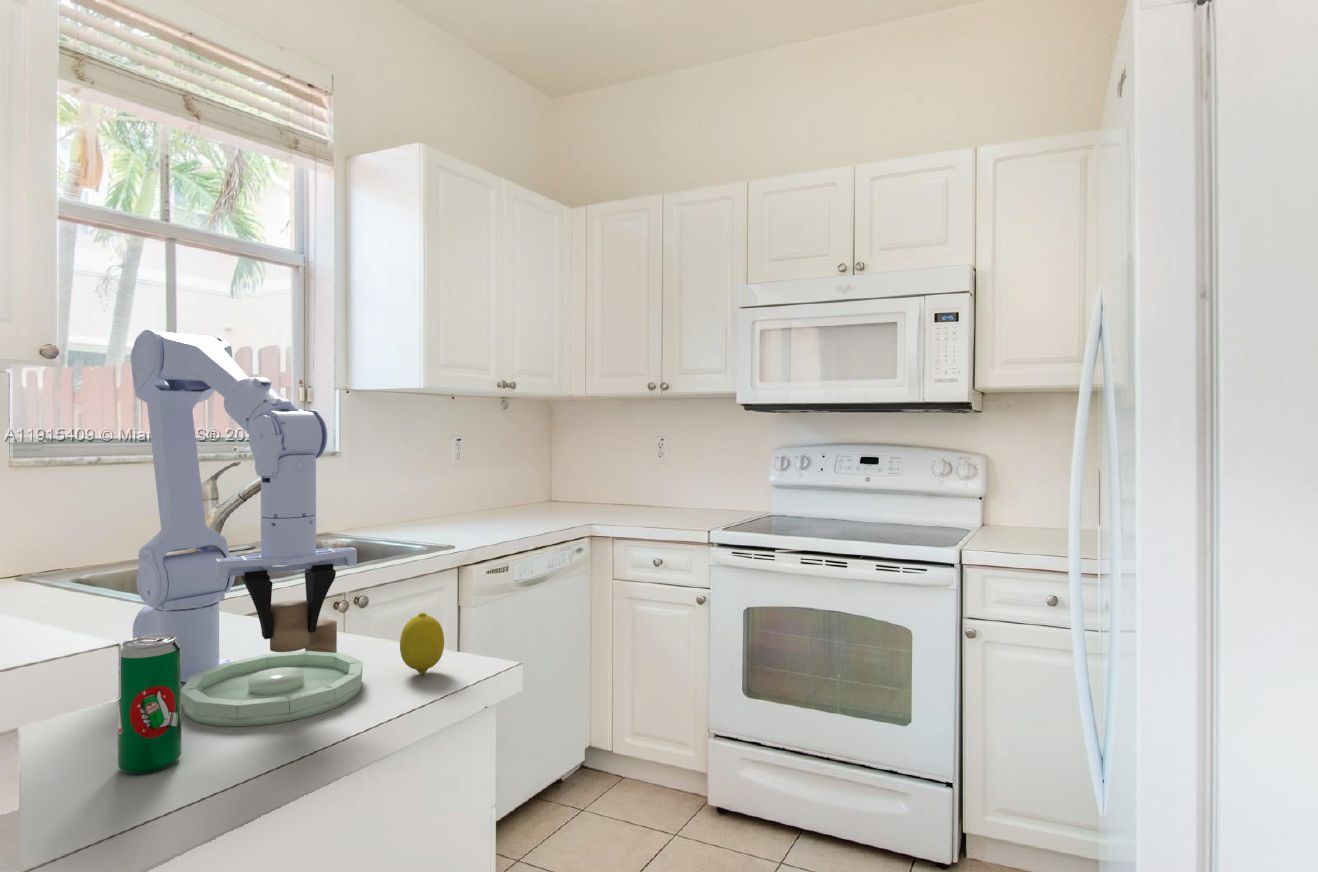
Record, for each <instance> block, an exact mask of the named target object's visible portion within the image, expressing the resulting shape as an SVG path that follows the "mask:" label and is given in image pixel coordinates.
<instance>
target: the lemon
mask: <svg viewBox="0 0 1318 872" xmlns="http://www.w3.org/2000/svg"><path fill="white" fill-rule="evenodd" d="M399 640H400V641H399V652H400V655H401V659H402V661H403V663H405V665H406V666H408V667H409V668H410V669H412V670H415V671H416V672H417V673H419V674H420V675H423V674H425V673H426V672H428V670H429V669H430V668H433V667H435V665H436V664H438V662H439V661H440V660H441V658H442V656H443V652H444V648H445V635H444V631H443V628H442V625H441V624H440V622H439V621H438V620H437V619H436V618H435V617H433V616H431V615H429V614H426V613H425V612H420V613H418V614H417V615H416V616H414V617H412V618H411V619H409V620H408V621H407V622H406V624H405V625H404V626H403V629H402V631H401V634H400V639H399Z"/></svg>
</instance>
